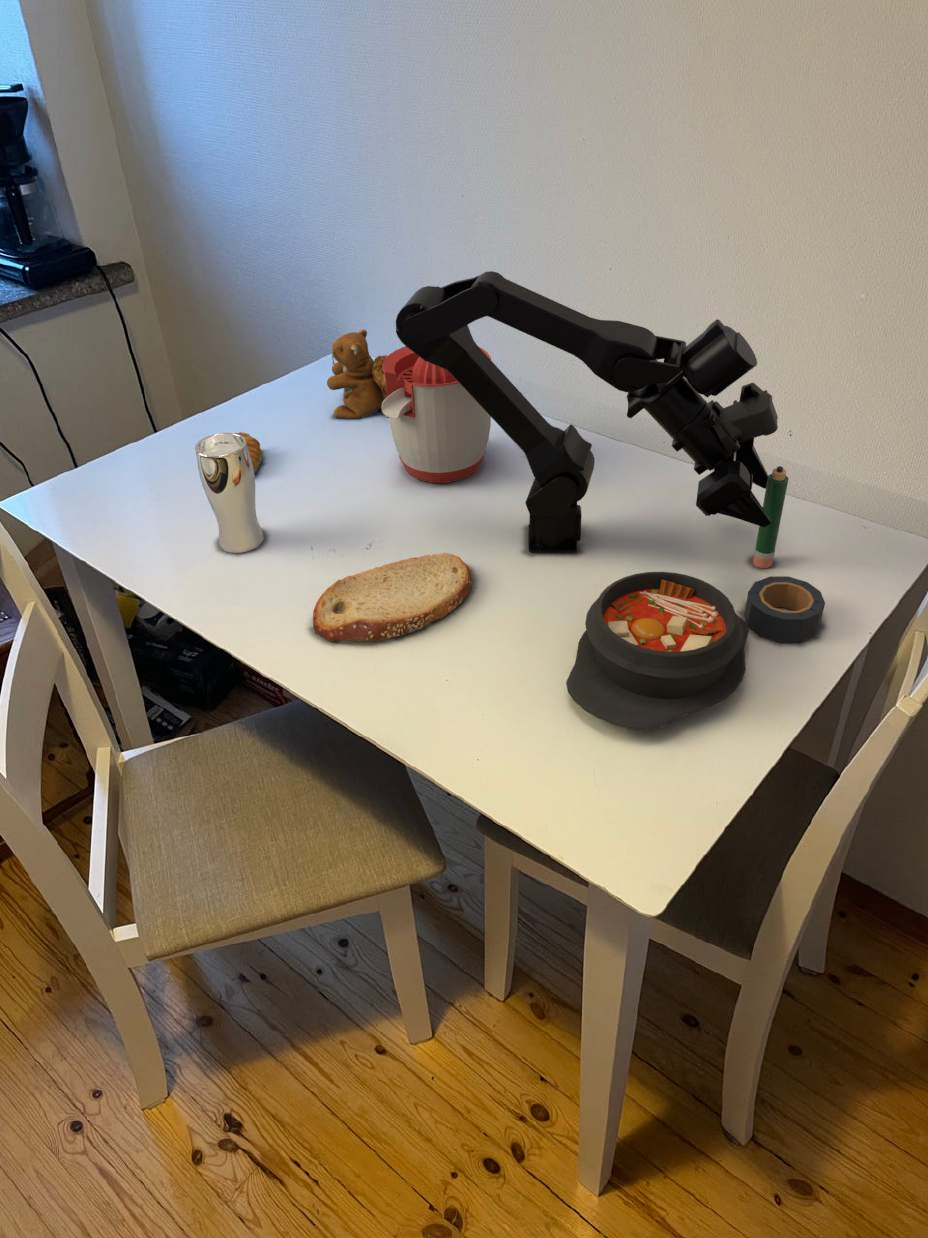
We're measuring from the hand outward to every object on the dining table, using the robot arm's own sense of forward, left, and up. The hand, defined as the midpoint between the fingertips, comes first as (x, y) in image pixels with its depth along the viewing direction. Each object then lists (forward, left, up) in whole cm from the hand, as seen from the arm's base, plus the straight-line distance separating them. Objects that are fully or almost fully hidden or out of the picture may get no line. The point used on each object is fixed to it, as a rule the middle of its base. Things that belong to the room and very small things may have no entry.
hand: (768, 505), depth 118 cm
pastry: (-74, +27, -9) cm, 80 cm away
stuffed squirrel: (-56, +46, -9) cm, 74 cm away
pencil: (+1, 0, -9) cm, 9 cm away
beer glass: (-69, +5, -9) cm, 70 cm away
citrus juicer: (-43, +25, -9) cm, 51 cm away
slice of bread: (-46, -9, -9) cm, 48 cm away
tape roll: (+1, -12, -9) cm, 15 cm away
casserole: (-15, -21, -9) cm, 27 cm away
